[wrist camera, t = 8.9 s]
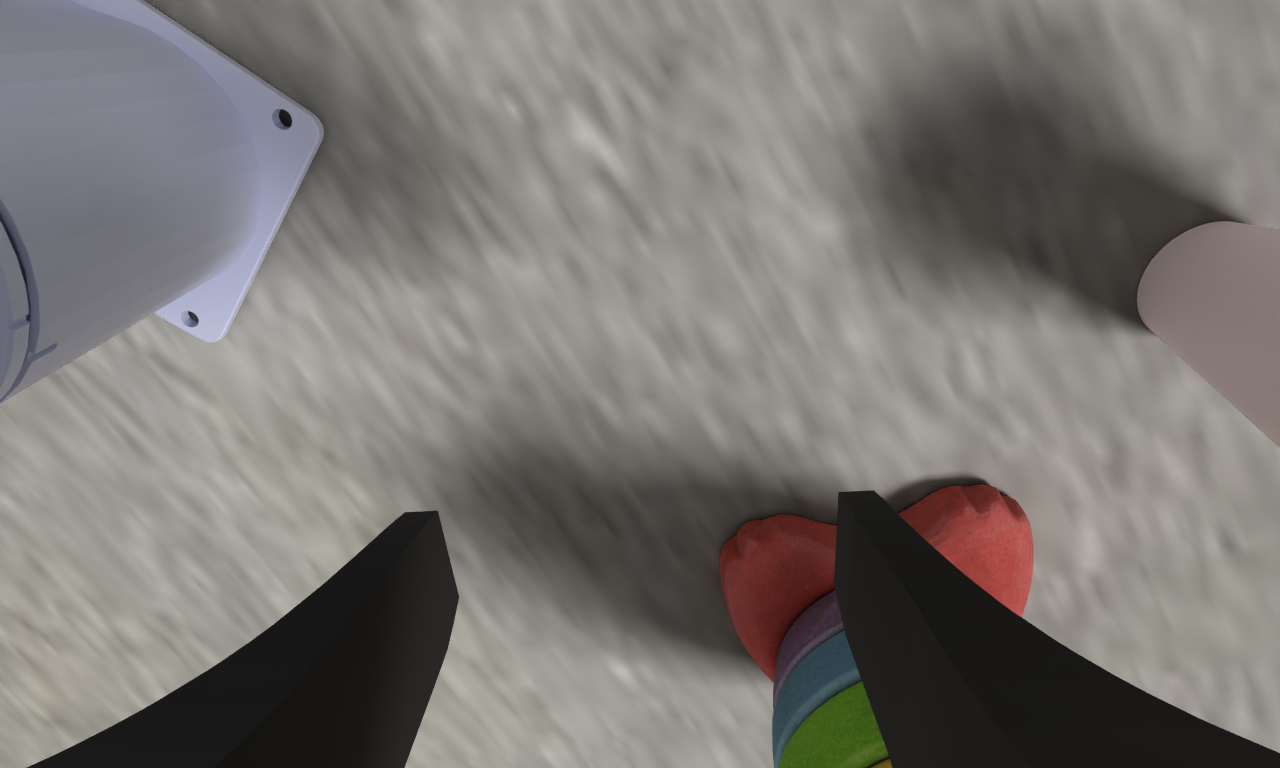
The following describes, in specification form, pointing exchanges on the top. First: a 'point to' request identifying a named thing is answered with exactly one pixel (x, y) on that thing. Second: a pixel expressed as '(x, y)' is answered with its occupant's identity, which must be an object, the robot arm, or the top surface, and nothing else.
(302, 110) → the robot arm
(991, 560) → the stacking bear
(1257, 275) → the smoothie
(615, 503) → the top surface
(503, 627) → the top surface
